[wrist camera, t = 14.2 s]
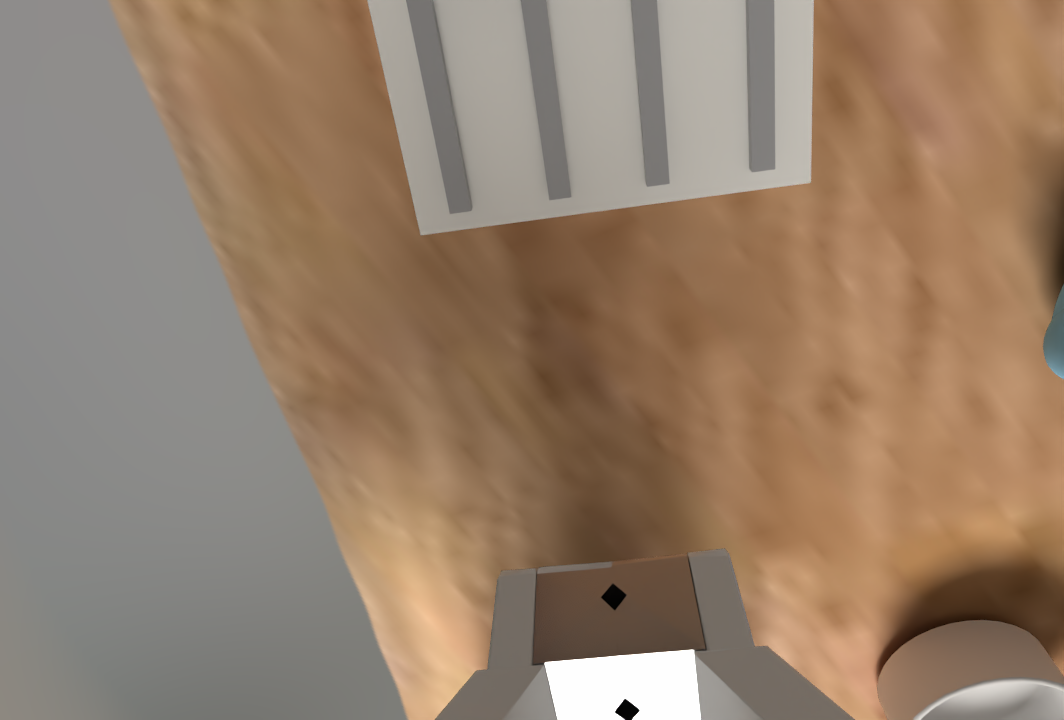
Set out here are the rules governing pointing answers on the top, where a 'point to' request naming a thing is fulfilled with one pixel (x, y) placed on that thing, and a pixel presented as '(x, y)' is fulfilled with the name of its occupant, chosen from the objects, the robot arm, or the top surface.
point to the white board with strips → (593, 103)
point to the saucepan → (972, 676)
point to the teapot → (1056, 338)
